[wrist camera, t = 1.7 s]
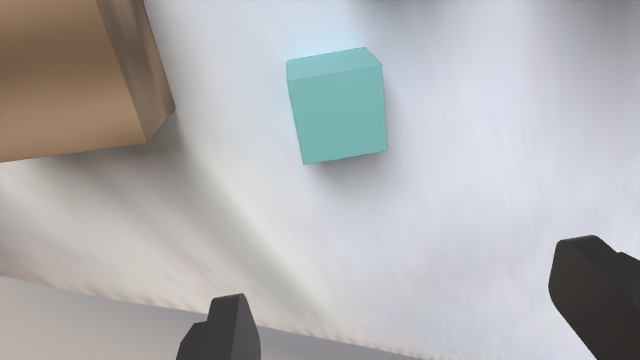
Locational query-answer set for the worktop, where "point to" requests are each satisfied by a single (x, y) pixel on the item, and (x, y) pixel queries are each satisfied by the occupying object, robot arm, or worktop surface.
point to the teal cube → (338, 105)
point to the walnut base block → (78, 77)
